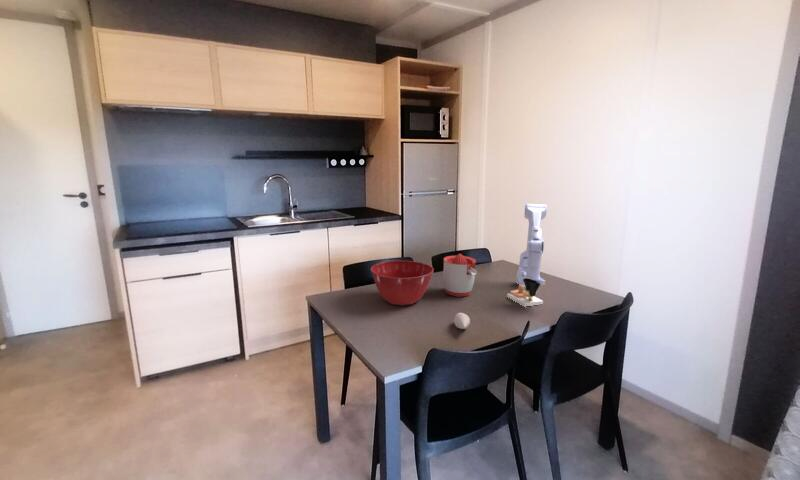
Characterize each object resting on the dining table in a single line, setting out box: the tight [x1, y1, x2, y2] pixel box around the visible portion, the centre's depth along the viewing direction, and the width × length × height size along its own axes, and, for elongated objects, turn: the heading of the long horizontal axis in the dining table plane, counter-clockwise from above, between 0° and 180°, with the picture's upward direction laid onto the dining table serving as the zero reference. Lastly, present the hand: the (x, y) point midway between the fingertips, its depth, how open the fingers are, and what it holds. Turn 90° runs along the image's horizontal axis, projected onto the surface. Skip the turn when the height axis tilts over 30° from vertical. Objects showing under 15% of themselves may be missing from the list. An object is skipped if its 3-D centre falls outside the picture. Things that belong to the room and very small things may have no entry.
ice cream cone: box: [453, 312, 471, 330], centre depth 148 cm, size 6×6×15 cm
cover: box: [509, 285, 528, 298], centre depth 182 cm, size 7×7×5 cm
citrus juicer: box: [442, 253, 478, 298], centre depth 186 cm, size 16×17×20 cm
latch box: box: [506, 293, 544, 308], centre depth 180 cm, size 13×10×2 cm
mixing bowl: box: [370, 260, 434, 306], centre depth 177 cm, size 28×28×16 cm
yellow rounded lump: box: [523, 289, 538, 301], centre depth 177 cm, size 6×6×5 cm
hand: (530, 295), depth 175 cm, fingers closed on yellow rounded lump, 2 cm apart
